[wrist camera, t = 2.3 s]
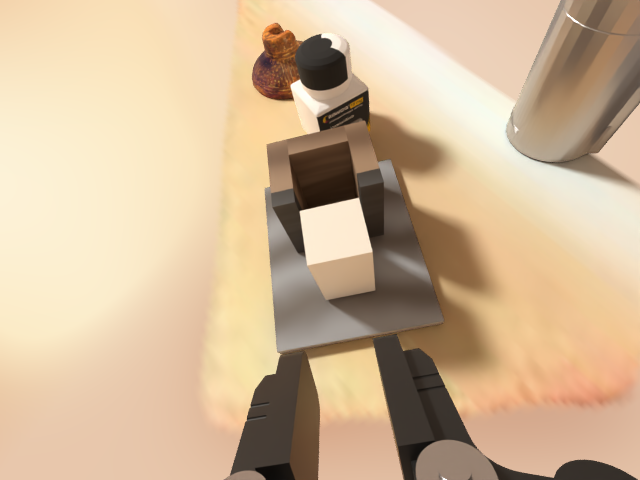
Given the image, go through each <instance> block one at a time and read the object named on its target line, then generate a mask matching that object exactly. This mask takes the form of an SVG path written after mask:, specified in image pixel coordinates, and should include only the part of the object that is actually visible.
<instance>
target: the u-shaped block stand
mask: <svg viewBox="0 0 640 480" xmlns="http://www.w3.org/2000/svg"><path fill="white" fill-rule="evenodd" d="M267 155H268V166H269V177H270V187H268V188H265V200H266V213H267V226H268V239H269V252H270V265H271V278H272V291H273V304H274V318H275V331H276V344H277V352H278V353H280V354H282V353H287V352H292V351H298V350H303V349H309V348H314V347H319V346H325V345H330V344H336V343H341V342H346V341H352V340H357V339H363V338H368V337H373V336H379V335H384V334H390V333H395V332H400V331H406V330H411V329H417V328H422V327H427V326H433V325H438V324H443V322H444V318H443V315H442V312H441V309H440V306H439V303H438V300H437V297H436V294H435V291H434V288H433V285H432V282H431V279H430V276H429V273H428V270H427V267H426V264H425V261H424V258H423V255H422V252H421V249H420V246H419V243H418V240H417V237H416V234H415V231H414V228H413V225H412V222H411V219H410V216H409V213H408V210H407V207H406V204H405V201H404V198H403V195H402V192H401V189H400V186H399V183H398V180H397V177H396V174H395V171H394V168H393V165H392V162H391V159H388V160H384V161H380V162H378V161H377V158H376V154H375V151H374V148H373V145H372V141H371V138H370V135H369V132H368V128H367V125H366V122H365V121H360V122H356V123H352V124H348V125H344V126H340V127H336V128H332V129H328V130H324V131H320V132H316V133H311V134H307V135H303V136H299V137H295V138H291V139H287V140H283V141H279V142H275V143H271V144H267ZM356 198H359V200H360V204H361V208H362V212H363V216H364V220H365V224H366V228H367V232H368V236H369V240H370V244H371V248H372V252H373V264H374V278H375V291H370V292H365V293H360V294H355V295H350V296H345V297H340V298H335V299H330V300H326V299H325V297H324V296H323V294H322V292H321V290H320V288H319V286H318V285H317V283H316V281H315V279H314V277H313V275H312V274H311V272H310V270H309V268H308V266H307V261H306V254H305V247H304V239H303V232H302V225H301V217H300V211H302V210H307V209H311V208H316V207H320V206H325V205H329V204H333V203H338V202H342V201H347V200H351V199H356Z"/></svg>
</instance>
